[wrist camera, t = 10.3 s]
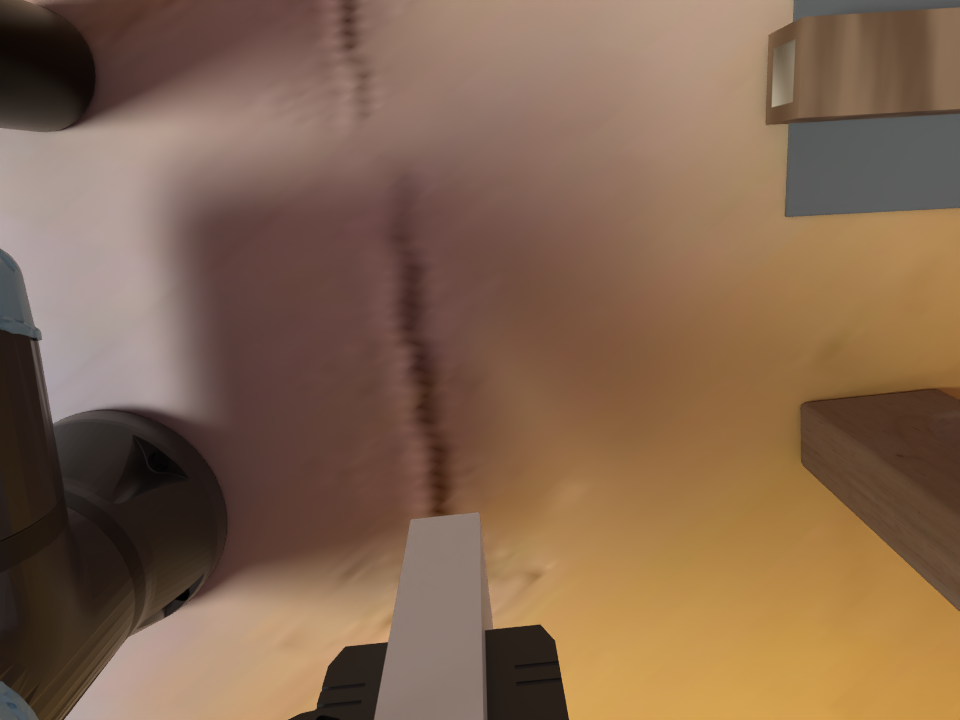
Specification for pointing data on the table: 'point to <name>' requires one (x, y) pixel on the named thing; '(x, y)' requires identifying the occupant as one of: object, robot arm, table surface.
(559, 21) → the table surface
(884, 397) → the wooden block
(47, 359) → the table surface
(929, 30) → the walnut block
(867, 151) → the mat
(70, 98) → the battery
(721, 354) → the table surface
